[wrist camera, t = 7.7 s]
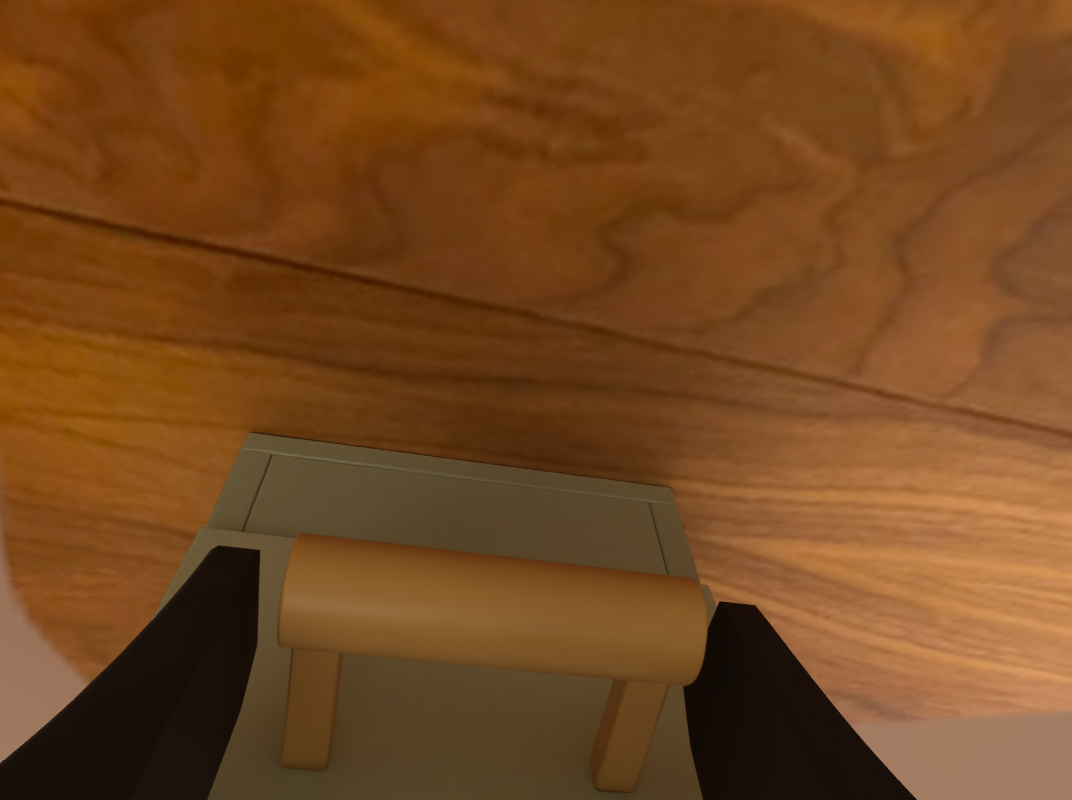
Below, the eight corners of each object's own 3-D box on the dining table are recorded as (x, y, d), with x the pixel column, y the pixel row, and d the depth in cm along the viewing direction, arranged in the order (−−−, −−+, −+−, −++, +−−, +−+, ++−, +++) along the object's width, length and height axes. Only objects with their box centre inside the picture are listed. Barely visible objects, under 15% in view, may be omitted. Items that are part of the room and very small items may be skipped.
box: (618, 635, 26) (636, 740, 23) (244, 597, 24) (207, 704, 21) (672, 486, 23) (702, 583, 20) (247, 430, 21) (204, 527, 18)
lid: (808, 879, 13) (914, 664, 12) (54, 832, 12) (35, 573, 10) (702, 604, 20) (759, 436, 18) (199, 548, 18) (204, 357, 16)
